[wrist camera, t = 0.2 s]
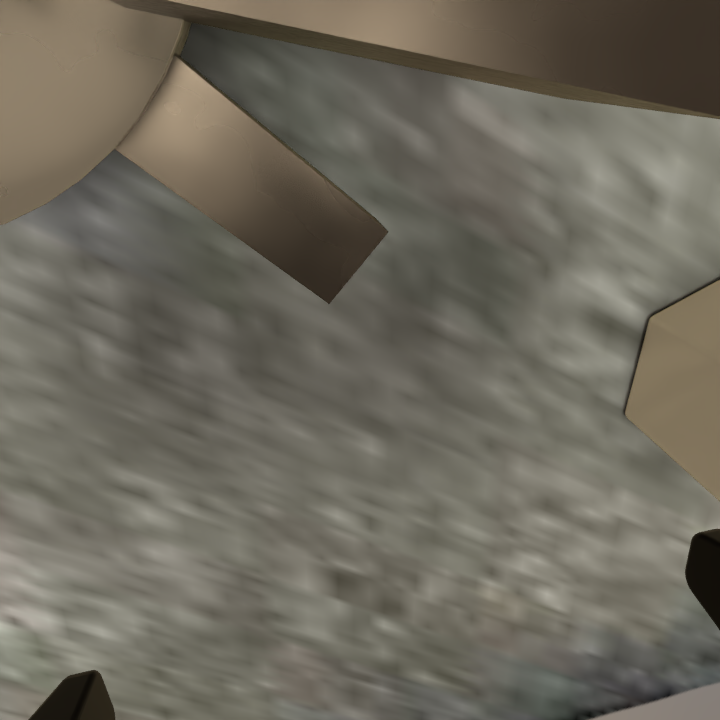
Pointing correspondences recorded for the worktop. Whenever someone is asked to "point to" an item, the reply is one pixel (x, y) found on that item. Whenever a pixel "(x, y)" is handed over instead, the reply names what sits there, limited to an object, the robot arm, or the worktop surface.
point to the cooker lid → (333, 33)
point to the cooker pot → (250, 181)
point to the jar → (683, 385)
